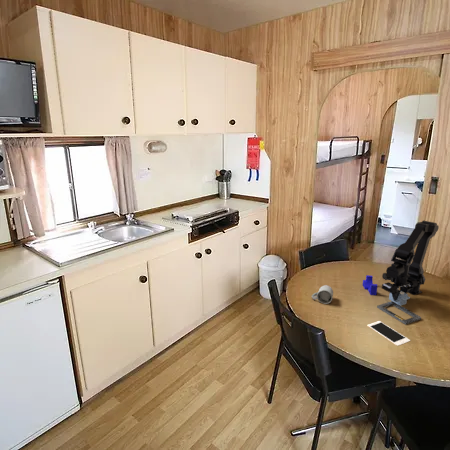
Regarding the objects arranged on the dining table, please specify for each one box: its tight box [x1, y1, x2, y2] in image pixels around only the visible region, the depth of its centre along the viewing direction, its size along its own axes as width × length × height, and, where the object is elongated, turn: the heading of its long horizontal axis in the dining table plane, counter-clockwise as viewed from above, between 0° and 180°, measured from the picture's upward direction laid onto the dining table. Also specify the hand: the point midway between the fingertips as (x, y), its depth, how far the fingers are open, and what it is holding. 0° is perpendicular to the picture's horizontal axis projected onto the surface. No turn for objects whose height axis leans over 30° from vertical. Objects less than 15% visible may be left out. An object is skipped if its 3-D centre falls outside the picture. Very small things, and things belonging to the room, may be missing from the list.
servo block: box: [388, 289, 411, 306], centre depth 163 cm, size 4×10×6 cm, turn 22°
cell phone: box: [366, 320, 411, 346], centre depth 140 cm, size 8×16×1 cm, turn 24°
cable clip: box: [362, 274, 378, 296], centre depth 176 cm, size 12×4×6 cm, turn 169°
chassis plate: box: [376, 300, 422, 326], centre depth 154 cm, size 10×16×1 cm, turn 23°
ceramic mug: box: [311, 284, 334, 305], centre depth 167 cm, size 11×8×8 cm
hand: (397, 299), depth 164 cm, fingers closed on servo block, 4 cm apart
